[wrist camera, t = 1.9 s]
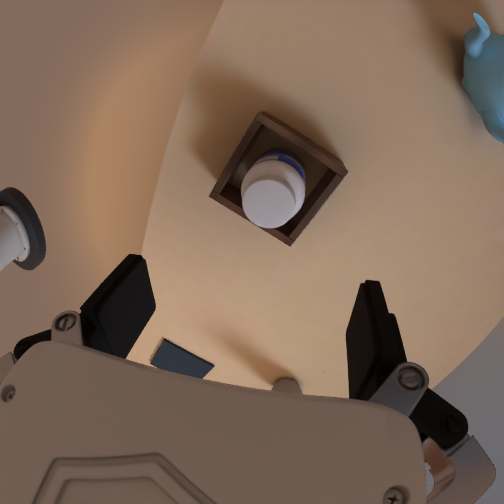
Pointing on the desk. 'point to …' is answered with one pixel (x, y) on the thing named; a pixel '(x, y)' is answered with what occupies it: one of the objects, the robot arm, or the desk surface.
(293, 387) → the salt shaker
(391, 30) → the desk surface
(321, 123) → the desk surface
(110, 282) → the robot arm
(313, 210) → the caddy
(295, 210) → the pill bottle
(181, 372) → the mat
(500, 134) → the teapot
